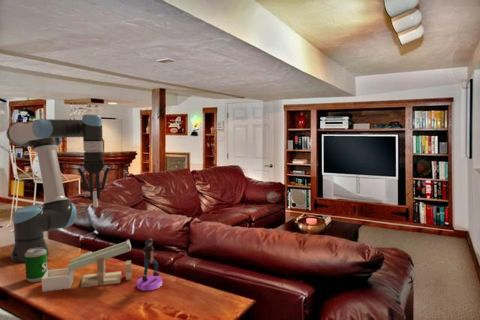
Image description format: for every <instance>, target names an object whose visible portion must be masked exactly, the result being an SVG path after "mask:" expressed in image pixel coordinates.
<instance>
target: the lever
mask: <svg viewBox="0 0 480 320" xmlns="http://www.w3.org/2000/svg"><path fill="white" fill-rule="evenodd" d="M131 250H132V245H131V242H130V239H126V241H123V242H121V243H118V244H117V243H116V244H114V245H111V246H108V247H105V248H103V249H98V250H97V251H93V252H92V251H87V252H85V253H82V254H81V255H80V256H79V257H76V258H73V259H70V260H69V262H70V263H69V264H67V266H66V268H68V270H69V272H70V271H73V272H74V271H75V270H78V269H81V268H85V267H87V266H90V265H93V264H96V263H97V257H100V256H103V260H105V261H106V260H108V259H110V258H114V257H116V256H120V255H123V254H125V253H128V252H130V251H131Z"/></svg>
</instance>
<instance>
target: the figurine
mask: <svg viewBox="0 0 480 320" xmlns="http://www.w3.org/2000/svg"><path fill="white" fill-rule="evenodd" d="M153 242H154V239H152V238H150V237H149V238H148V239H146V241H145V242H144V244H145V246H144V248H143V249H142V253H143V254H144V262H143V263H144V270H143V275H142V277H140V278H138V279H137V280H136V287H137V288H138V290H141V291H152V290H153V291H154V290H157V289H159V288H161V287H162V286H163V277H161V276H160V273H159V272H158V270H159V263H158V261H157V260H156V259H155V258H154V251H155V248H154V246H153ZM149 263H150V264H153V265H154V266H153V267H154V269H153V273H152V274H149V275H148V271H149ZM160 286H161V287H160Z"/></svg>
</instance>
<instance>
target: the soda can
mask: <svg viewBox="0 0 480 320" xmlns="http://www.w3.org/2000/svg"><path fill="white" fill-rule="evenodd" d="M24 263H25V264H24V266H25V279H26V281H28V282H29V283H38V282H42V277H43V276H44V274H45V273H46V271H47V270H49V269H48V256H47V251H46V250H45V249H44V248H41V247H38V248H32V249H29V250H27V252H26V253H25V262H24Z"/></svg>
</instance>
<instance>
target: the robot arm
mask: <svg viewBox="0 0 480 320" xmlns="http://www.w3.org/2000/svg"><path fill="white" fill-rule="evenodd" d="M5 134H6V138H7V139H8V141H9V142H11V143H12V144H13V145H16V146H21V147H32V151H33V152H35V153H36V154H37V159H38V165H39V171H40V176H41V182H42V188H43V191H44V197H45V200H44V202H43V203H42V205H43V206H42V205H40V204H33V205H32V204H31V205H27V206H23V207H20V208H18V209H16V210H15V211H14V212H13V215H12V216H13V219H12V223H13V234H14V244H13V247H12V251H11V255H10V258H11V261H12V262H14V263H25V253H26V252H27V250H29V249H32V248H38V247H41V248H44V249H45V250H46V251H47V257H48V256H49V255H50V252H49V248H48V247H49V246H48V245H47V243H46V240H45V237H44V236H45V235H44V232H49V231H54V230H60V229H65V228H68V227H71V226H72V225H73V224H74V223H75V221H76V218H77V208H76V206H75V204H74V203H73V202H72V201H71V202H70V198H68V197H67V196H66V195H65V190H64V184H63V179H62V174H61V168H60V163H59V159H58V153H57V151H58V149H59V148H60V145H61V144H62V142H63V139H62V138H82V139H83V140H82V141H83V151H84V153H83V163H82V166H81V167H79V168H77V172H78V173H79V174H80V178H81V180H82V184H83V186H84V187H83V188H84V190H85V191H86V192H89V196H90V200H92V202H93V203H92V204H93V206H92V207H93V208H98V207H99V200H100V198H101V191H104V189H105V187H106V182H107V178H108V173H109V171H110V170H111V167H110V166H107V165H106V164H105V162H104V152H103V150H104V146H103V143H104V142H103V121H102V116H101V115H100V114H91V113H90V114H83V115H82V118H81V119H51V118H49V119H48V118H39V119H38V118H37V119H35V120H34V121H33V122H25V121H24V122H17V123H13V124H11V125H10V126H8V127H7V129H6V133H5ZM102 170H103V171H104V173H103V177H102V181H100V180H101V179H100V173H101V172H102ZM85 171H86V172H87V173H88V177H89V178H88V179H89V183H88V181H87V177H86V175H85V174H86V173H85ZM94 174H95V186H94ZM94 187H96V190H94Z"/></svg>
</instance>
